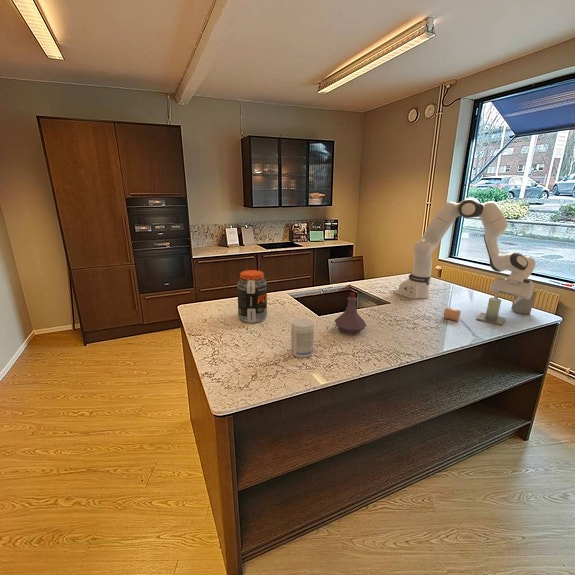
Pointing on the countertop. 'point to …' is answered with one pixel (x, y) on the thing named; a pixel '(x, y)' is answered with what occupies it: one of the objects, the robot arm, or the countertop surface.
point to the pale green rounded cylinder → (493, 308)
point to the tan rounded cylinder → (452, 314)
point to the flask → (350, 318)
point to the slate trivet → (497, 322)
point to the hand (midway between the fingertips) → (504, 300)
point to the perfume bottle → (524, 304)
